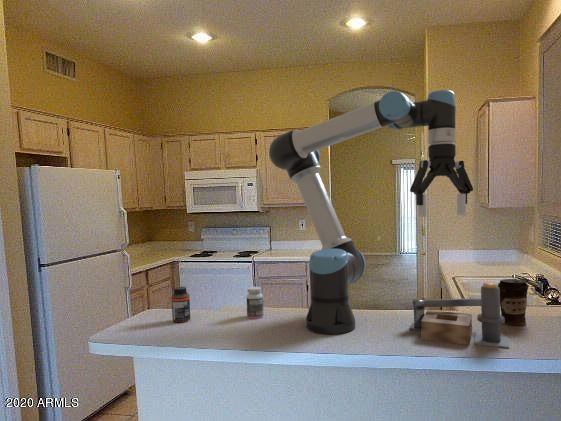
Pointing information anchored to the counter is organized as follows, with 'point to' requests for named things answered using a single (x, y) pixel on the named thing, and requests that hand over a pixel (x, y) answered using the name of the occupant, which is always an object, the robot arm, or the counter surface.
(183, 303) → the supplement bottle
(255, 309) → the pill bottle
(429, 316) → the socket
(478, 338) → the mat
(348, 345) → the counter surface
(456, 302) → the grey long bar
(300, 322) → the counter surface
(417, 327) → the post
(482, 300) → the plug
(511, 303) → the coffee cup
